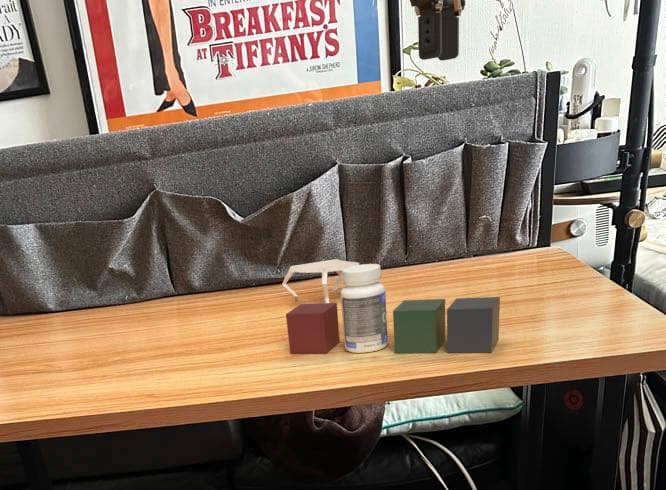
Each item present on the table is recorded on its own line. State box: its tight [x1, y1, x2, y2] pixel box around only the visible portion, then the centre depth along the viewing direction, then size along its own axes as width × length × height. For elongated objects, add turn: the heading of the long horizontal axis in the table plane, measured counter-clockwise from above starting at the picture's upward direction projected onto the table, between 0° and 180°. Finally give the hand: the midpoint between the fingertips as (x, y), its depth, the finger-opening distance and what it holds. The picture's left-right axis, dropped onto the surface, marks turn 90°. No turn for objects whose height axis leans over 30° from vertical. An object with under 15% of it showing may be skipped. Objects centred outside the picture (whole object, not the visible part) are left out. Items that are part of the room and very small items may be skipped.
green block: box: [392, 298, 446, 354], centre depth 76 cm, size 4×4×4 cm
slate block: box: [446, 296, 501, 354], centre depth 73 cm, size 4×4×4 cm
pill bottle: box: [339, 263, 389, 354], centre depth 77 cm, size 5×5×8 cm
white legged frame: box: [281, 258, 360, 303], centre depth 101 cm, size 12×8×5 cm
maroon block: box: [285, 302, 341, 355], centre depth 81 cm, size 4×4×4 cm
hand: (439, 59), depth 77 cm, fingers open, 8 cm apart
